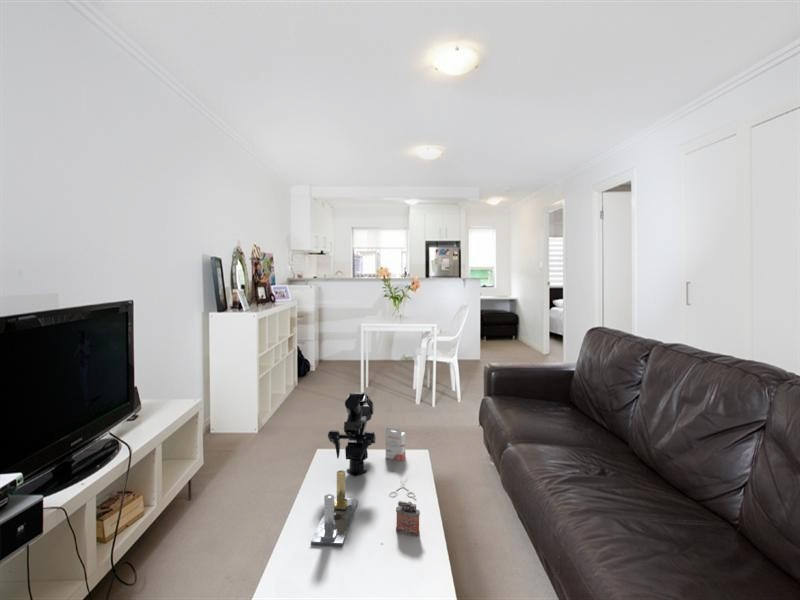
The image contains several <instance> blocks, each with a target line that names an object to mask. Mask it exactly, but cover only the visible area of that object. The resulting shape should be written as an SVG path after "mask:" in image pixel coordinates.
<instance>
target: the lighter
mask: <svg viewBox="0 0 800 600" xmlns="http://www.w3.org/2000/svg"><path fill="white" fill-rule="evenodd" d="M395 511H396V527H395V532H396V533H398V534H400V535H404V536H407V537H415V538H417V537H419V536H420V533H421V532H420V514H421V511H420V509H417V504H416V503H412V502H411V501H408V502H406V501H403V500H398V503H397V507H396V509H395Z"/></svg>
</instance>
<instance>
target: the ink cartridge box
mask: <svg viewBox="0 0 800 600" xmlns="http://www.w3.org/2000/svg"><path fill="white" fill-rule="evenodd" d="M385 458H386V459H390V460H396V461H403V460H404V459H405V458H406V432H403V431H402V429H401V428H396V427H390V426H389V427H388V426H386V427H385Z"/></svg>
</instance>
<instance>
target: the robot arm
mask: <svg viewBox="0 0 800 600" xmlns="http://www.w3.org/2000/svg"><path fill="white" fill-rule="evenodd" d="M344 406H345V409H346V413H347V419H346V421H344V422H343V431H344V433H340V432H339V430H329V431H328V433H327V438H328V440H329V442H330V443H332V444H333V445H334V446H335V451H336V457H337V459H339V458H340V451H341V442H340V440H348V442H347V444H346V445H345V450H344V452H345V460H349V468H348V469H346V472H347V473H349V474H351V476H353V477H357V476H359V475H362V474H364V473H367V470H366V468H365V464H364V462H365V461H366V459H368V458H369V456H368V455H369V454H368V448H369V446H372V445H373V444H376V434H375V432H374V431H366V428H367V423H368V421H370V420H371V419H372V416H373V415H374V411H375V410H374V409H375V408H374V403H373V401H372V400H371V398H370V395H369V394H367V393H365V392H363V391H362V392H357V391H354V392H353V391H351V392H349V394H348V395H347V397H346V399H345V402H344Z"/></svg>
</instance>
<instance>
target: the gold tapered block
mask: <svg viewBox="0 0 800 600" xmlns="http://www.w3.org/2000/svg"><path fill="white" fill-rule="evenodd" d="M336 498H337V500H336V502H335V504H334V509H346V508H347V505H348V501H345V498H346V471H345V470H338V471H336Z"/></svg>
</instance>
